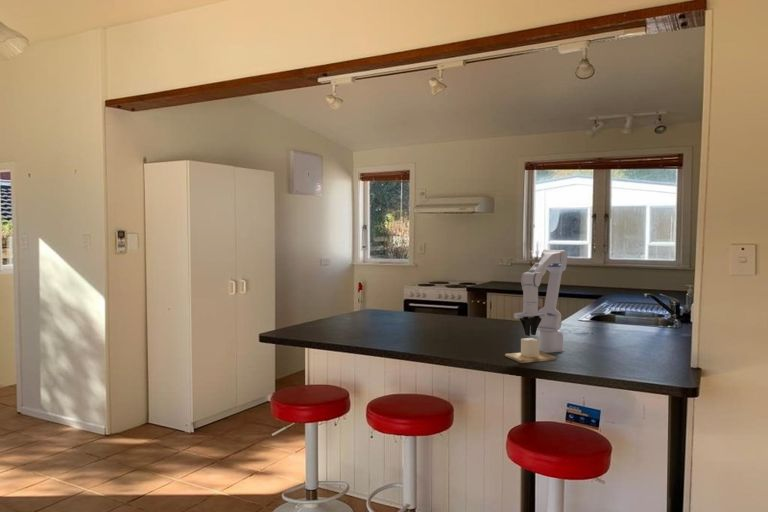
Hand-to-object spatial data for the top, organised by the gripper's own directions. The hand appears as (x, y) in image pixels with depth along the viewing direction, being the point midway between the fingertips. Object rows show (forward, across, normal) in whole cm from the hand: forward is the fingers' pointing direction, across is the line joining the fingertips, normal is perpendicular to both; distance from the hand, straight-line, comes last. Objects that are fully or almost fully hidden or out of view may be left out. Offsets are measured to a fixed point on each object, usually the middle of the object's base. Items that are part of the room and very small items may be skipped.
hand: (530, 335), depth 221 cm
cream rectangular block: (+8, 0, 0) cm, 8 cm away
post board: (+9, 0, 0) cm, 9 cm away
